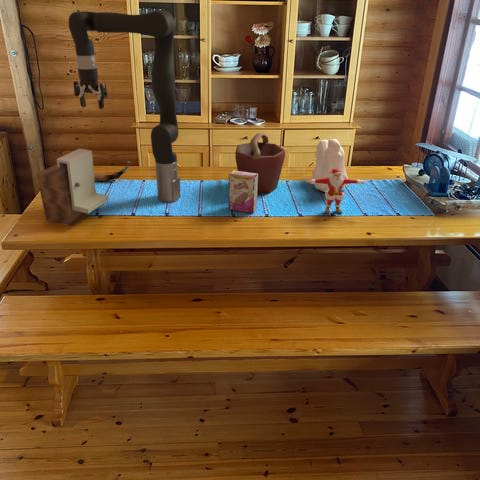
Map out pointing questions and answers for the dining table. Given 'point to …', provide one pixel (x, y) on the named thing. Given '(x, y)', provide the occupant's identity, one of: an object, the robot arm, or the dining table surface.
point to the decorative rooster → (328, 162)
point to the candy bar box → (243, 191)
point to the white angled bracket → (82, 181)
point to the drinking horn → (113, 176)
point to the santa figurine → (335, 188)
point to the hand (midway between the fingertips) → (92, 107)
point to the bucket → (261, 162)
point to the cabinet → (57, 195)
